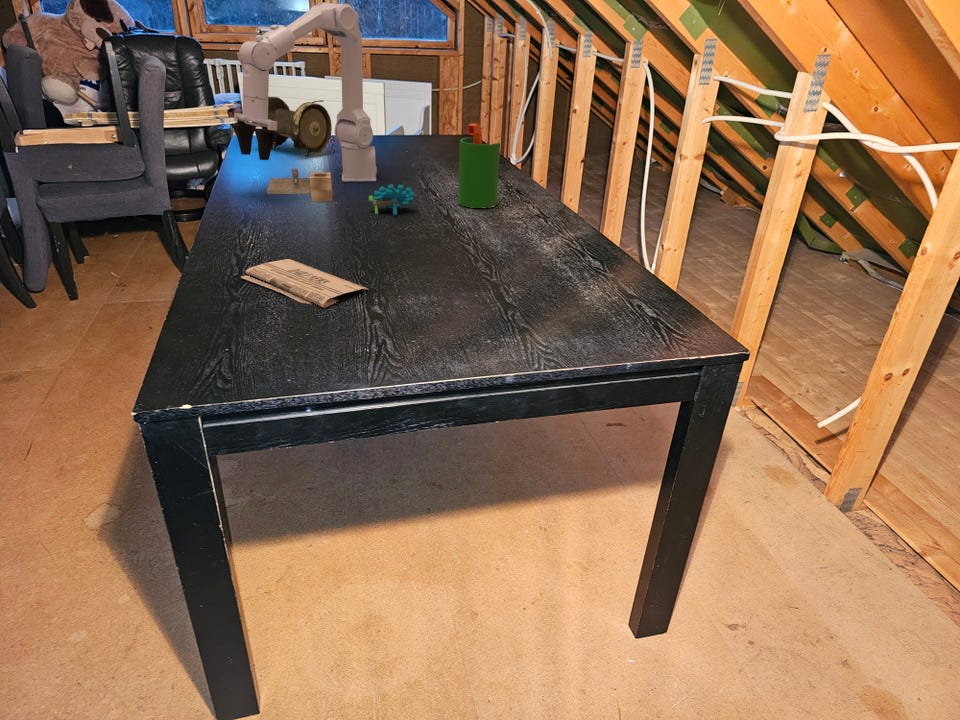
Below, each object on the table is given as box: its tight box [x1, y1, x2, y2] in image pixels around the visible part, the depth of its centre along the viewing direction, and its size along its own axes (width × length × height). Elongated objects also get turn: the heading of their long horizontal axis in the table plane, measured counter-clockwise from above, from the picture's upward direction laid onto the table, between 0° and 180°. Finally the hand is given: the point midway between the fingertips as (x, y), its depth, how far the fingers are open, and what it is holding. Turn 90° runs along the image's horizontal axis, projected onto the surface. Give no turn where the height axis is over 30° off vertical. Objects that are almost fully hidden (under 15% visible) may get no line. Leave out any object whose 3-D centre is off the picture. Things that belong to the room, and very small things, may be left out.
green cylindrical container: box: [457, 123, 501, 208], centre depth 163 cm, size 10×9×20 cm
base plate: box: [266, 167, 311, 195], centre depth 174 cm, size 16×12×5 cm
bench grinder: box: [252, 96, 333, 158], centre depth 208 cm, size 20×22×20 cm
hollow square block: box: [309, 172, 333, 203], centre depth 166 cm, size 5×5×6 cm
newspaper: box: [240, 258, 369, 308], centre depth 119 cm, size 23×12×2 cm, turn 52°
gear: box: [368, 184, 416, 217], centre depth 158 cm, size 11×6×10 cm
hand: (254, 157), depth 159 cm, fingers open, 7 cm apart
